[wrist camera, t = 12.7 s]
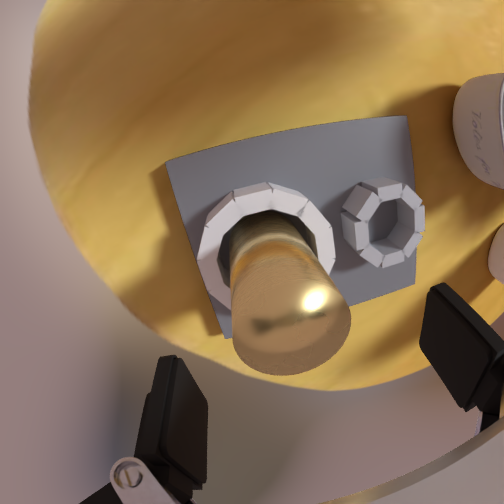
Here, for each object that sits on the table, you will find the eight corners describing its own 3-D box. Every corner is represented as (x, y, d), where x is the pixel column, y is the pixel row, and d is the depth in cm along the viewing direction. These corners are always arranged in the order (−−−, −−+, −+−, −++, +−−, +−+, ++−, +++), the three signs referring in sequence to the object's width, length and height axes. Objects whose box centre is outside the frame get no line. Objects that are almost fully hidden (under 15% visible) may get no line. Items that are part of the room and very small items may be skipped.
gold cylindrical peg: (220, 220, 19) (216, 300, 10) (291, 202, 19) (347, 266, 10) (239, 282, 21) (249, 385, 12) (303, 266, 21) (352, 357, 12)
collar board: (169, 160, 19) (155, 166, 15) (396, 115, 19) (426, 115, 15) (225, 328, 25) (225, 359, 21) (406, 276, 25) (429, 297, 21)
